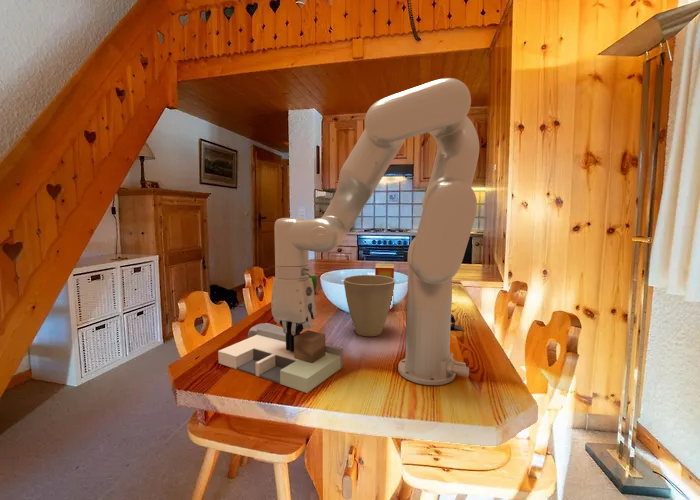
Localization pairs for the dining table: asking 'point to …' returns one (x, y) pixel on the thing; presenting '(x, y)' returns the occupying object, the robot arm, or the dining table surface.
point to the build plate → (455, 327)
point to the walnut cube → (309, 346)
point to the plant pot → (369, 302)
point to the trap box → (280, 361)
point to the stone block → (266, 326)
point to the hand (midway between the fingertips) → (293, 348)
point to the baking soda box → (385, 272)
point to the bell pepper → (314, 281)
